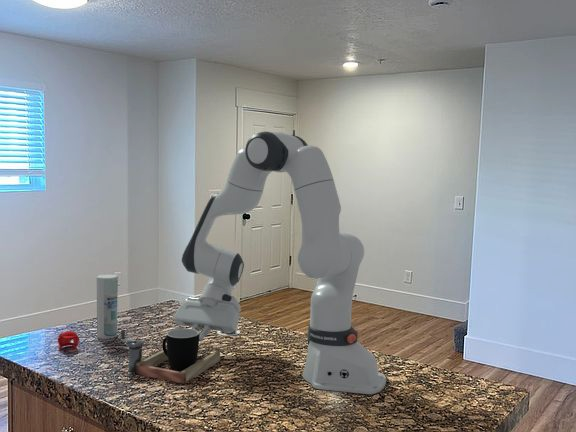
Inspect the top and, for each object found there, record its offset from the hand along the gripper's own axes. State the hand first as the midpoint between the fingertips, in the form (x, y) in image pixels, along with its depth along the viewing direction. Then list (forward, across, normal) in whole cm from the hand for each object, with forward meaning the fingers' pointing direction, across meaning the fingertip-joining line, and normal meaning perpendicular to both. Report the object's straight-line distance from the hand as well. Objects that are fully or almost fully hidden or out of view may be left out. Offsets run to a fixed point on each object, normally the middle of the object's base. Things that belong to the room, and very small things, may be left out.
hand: (196, 340), depth 160 cm
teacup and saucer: (-16, -1, +25) cm, 30 cm away
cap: (+11, -39, -3) cm, 41 cm away
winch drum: (+15, -11, -7) cm, 20 cm away
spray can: (0, -37, +8) cm, 38 cm away
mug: (+10, 0, -2) cm, 10 cm away
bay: (+10, 0, -2) cm, 10 cm away
